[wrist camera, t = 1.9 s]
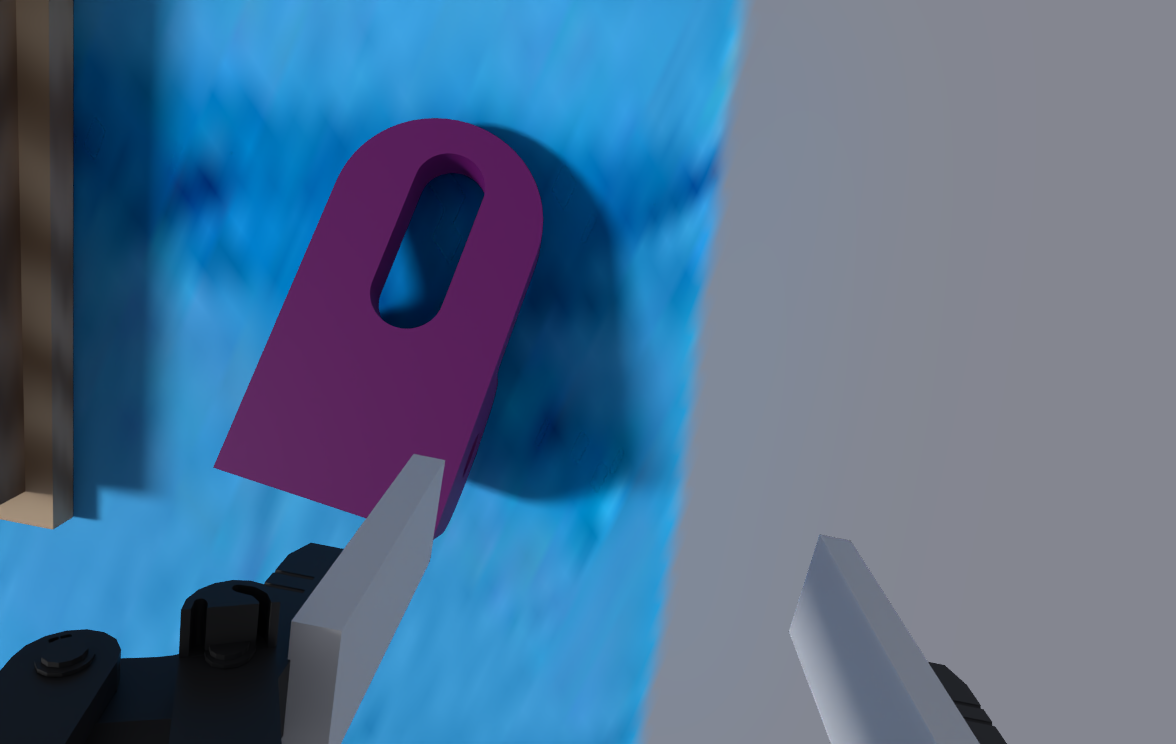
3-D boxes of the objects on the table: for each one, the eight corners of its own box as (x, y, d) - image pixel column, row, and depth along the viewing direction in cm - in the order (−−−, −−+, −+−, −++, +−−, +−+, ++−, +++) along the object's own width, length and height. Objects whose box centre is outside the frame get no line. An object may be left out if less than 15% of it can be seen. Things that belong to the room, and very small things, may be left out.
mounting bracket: (403, 169, 41) (277, 471, 38) (376, 89, 33) (212, 467, 29) (559, 226, 41) (449, 528, 38) (571, 161, 33) (432, 541, 30)
